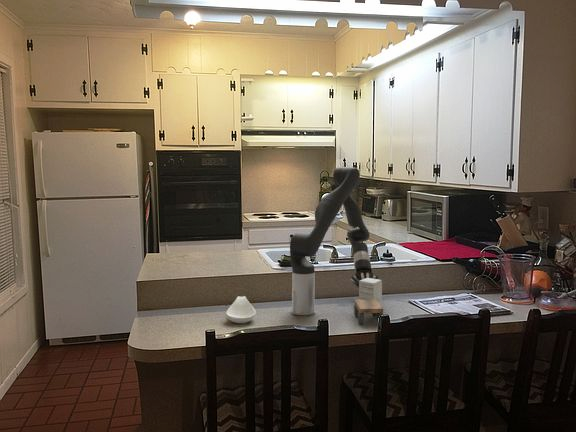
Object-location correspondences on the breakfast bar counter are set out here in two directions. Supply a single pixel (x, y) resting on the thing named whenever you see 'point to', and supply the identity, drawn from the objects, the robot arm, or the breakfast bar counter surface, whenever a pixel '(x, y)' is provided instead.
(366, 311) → the brown block with legs
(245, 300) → the white conical piece
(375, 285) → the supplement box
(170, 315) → the breakfast bar counter surface
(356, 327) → the breakfast bar counter surface
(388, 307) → the breakfast bar counter surface
